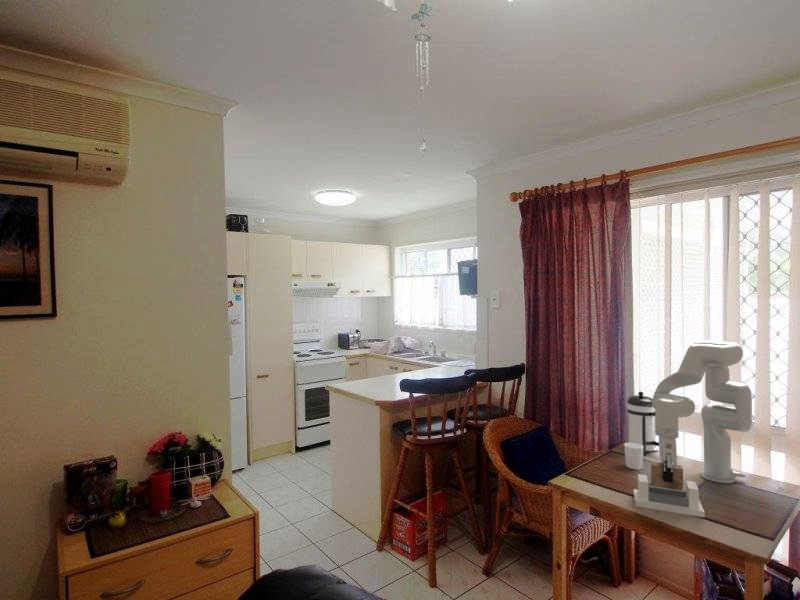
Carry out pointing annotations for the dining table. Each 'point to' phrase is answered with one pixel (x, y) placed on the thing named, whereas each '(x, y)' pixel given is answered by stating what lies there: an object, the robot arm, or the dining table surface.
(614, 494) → the dining table surface
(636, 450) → the white cup
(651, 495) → the track frame
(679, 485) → the brown wooden block
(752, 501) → the dining table surface
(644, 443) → the coffee press
